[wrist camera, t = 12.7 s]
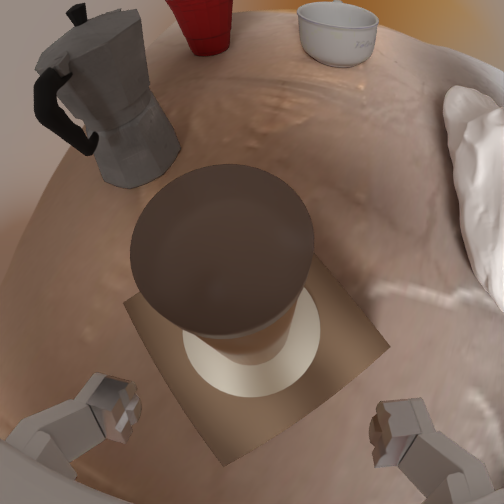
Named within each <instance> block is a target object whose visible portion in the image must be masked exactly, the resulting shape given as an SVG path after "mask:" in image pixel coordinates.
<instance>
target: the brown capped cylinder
mask: <svg viewBox="0 0 504 504" xmlns="http://www.w3.org/2000/svg"><path fill="white" fill-rule="evenodd" d="M313 252H314V232H313V226H312V222H311V218H310V215H309V213H308V211H307V209H306V207H305V205H304V203H303V202H302V200H301V199H300V197H299V196H298V195H297V194H296V193H295V191H294V190H293V189H292V188H291V187H290V186H288V185H287V184H286V183H285V182H283V181H282V180H281V179H279V178H278V177H276V176H274V175H272V174H270V173H268V172H266V171H263V170H261V169H258V168H254V167H250V166H245V165H237V164H222V165H213V166H208V167H203V168H200V169H196V170H194V171H191V172H189V173H186V174H184V175H182V176H180V177H178V178H177V179H175V180H173V181H172V182H170V183H169V184H167V185H166V186H165V187H164V188H162V189H161V190H160V191H159V192H158V193H157V194H156V195H155V196H154V197H153V198H152V199H151V200H150V202H149V203H148V204H147V206H146V207H145V208H144V210H143V212H142V213H141V215H140V217H139V219H138V221H137V223H136V226H135V229H134V232H133V235H132V240H131V246H130V261H131V269H132V273H133V277H134V280H135V282H136V284H137V287H138V289H139V290H140V292H141V294H142V295H143V297H144V298H145V300H146V301H147V302H148V303H149V304H150V305H151V307H152V308H154V309H155V310H156V311H157V312H158V313H159V314H161V315H162V316H163V317H165V318H166V319H167V320H169V321H170V322H172V323H173V324H174V325H176V326H178V327H179V328H181V329H182V330H184V331H187V332H189V333H191V334H194V335H195V336H197V337H198V338H199V339H201V340H202V341H204V342H205V343H206V344H208V345H209V346H211V347H212V348H213V349H215V350H216V351H218V352H219V353H220V354H222V355H223V356H225V357H226V358H228V359H229V360H231V361H233V362H235V363H238V364H241V365H248V366H250V365H259V364H263V363H265V362H267V361H269V360H271V359H273V358H274V357H275V356H276V355H277V354H278V353H279V352H280V351H281V350H282V348H283V347H284V345H285V343H286V341H287V338H288V334H289V330H290V327H291V323H292V319H293V316H294V312H295V308H296V304H297V300H298V297H299V295H300V294H301V292H302V290H303V288H304V285H305V282H306V279H307V276H308V273H309V269H310V266H311V262H312V257H313Z"/></svg>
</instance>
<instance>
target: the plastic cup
mask: <svg viewBox="0 0 504 504" xmlns="http://www.w3.org/2000/svg"><path fill="white" fill-rule="evenodd" d="M165 1H166V2H167V4H168V5H169V7H170V8H171V10H172V11H173V13H174V15H175V17H176V20H177V22H178V24H179V26H180V28H181V30H182V32H183V35H184V36H185V37H186V40H187V42H188V45H189V47H190V49H191V50H192V52H193V53H194V54H195V55H198V56H211V55H216V54H219V53H222V52H224V51H226V50H227V49H228V47H229V44H230V30H231V22H232V4H233V0H165Z"/></svg>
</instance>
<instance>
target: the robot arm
mask: <svg viewBox="0 0 504 504" xmlns="http://www.w3.org/2000/svg"><path fill="white" fill-rule="evenodd" d="M136 391H137V387H136V384H135V382H132V381H129V380H125V379H121V378H117V377H114V376H110V375H106V374H102V373H99V372H96V373H94V374H93V375H92V376H91V378H90V379H89V380H88V382H87V383H86V384H85V385H84V387H83V388H82V389H81V391H80V392H79V393H78V395H77V396H76V397H75V399H74V400H72V399H69V400H67V401H64V402H62V403H60V404H57V405H55V406H53V407H50V408H48V409H46V410H43V411H41V412H39V413H36V414H34V415H31V416H29V417H26V418H24V419H22V420H21V421H20V422H19V423H18V425H17V426H16V427H15V428H14V430H13V431H12V432H11V433H10V435H9V436H8V437H7V439H6V440H5V441H4V440H2V439H1V438H0V504H134V503H131V502H128V501H125V500H122V499H119V498H117V497H114V496H111V495H108V494H106V493H103V492H101V491H98V490H96V489H93V488H91V487H89V486H86V485H84V484H82V483H79V482H77V481H75V478H76V476H77V473H76V471H75V470H74V469H73V467H72V466H71V465H70V462H72V461H73V460H75V459H76V458H78V457H79V456H81V455H82V454H84V453H86V452H87V451H89V450H90V449H92V448H93V447H95V446H96V445H98V444H99V443H101V442H102V441H104V440H105V438H107V439H110V440H113V441H117V442H120V443H124V444H126V443H127V441H128V439H129V437H130V435H131V433H132V432H133V430H132V426H131V425H133V424H135V423H136V422H138V420H139V418H140V415H141V410H142V405H141V400H140V398H139V397H138V396H137V395H136V394H135V392H136ZM376 412H377V414H376V415H375V416H373V417H372V420H371V422H370V427H369V439H370V443H371V444H372V445H373V446H375V448H374V450H373V452H372V456H373V461H374V467H375V468H378V467H389V466H398V468H399V469H400V470H401V471H402V472H403V473H404V474H405V475H406V476H407V477H408V479H409V480H410V481H411V482H412V483H413V484H414V485H415V486H416V487H417V488H418V489H419V490H420V492H421V493H422V494H423V495H424V496H425V497H426V498H427V499H426V500H425V501H424V502H423V503H421V504H504V487H503V488H501V489H499V490H497V491H495V490H494V488H493V485H492V482H491V479H490V477H489V474H488V471H487V469H486V466H485V464H484V463H483V462H482V461H480V460H479V459H477V458H476V457H475V456H473V455H472V454H470V453H469V452H468V451H466V450H465V449H464V448H462V447H461V446H459V445H458V444H457V443H455V442H454V441H452V440H451V439H450V438H448V437H447V436H446V435H444V434H443V433H442V432H440V431H437V432H436V430H435V428H434V425H433V423H432V420H431V418H430V415H429V413H428V410H427V408H426V405H425V403H424V401H423V399H422V398H421V397H420V398H411V399H400V400H389V401H380V402H379V403H378V405H377V407H376Z"/></svg>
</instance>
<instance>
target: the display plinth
mask: <svg viewBox="0 0 504 504" xmlns="http://www.w3.org/2000/svg"><path fill="white" fill-rule="evenodd" d="M123 304H124V306H125V308H126V310H127V312H128V314H129V316H130V318H131V320H132V322H133V324H134V326H135V328H136V330H137V332H138V334H139V336H140V337H141V339H142V341H143V343H144V345H145V347H146V349H147V350H148V352H149V354H150V356H151V358H152V359H153V361H154V363H155V365H156V366H157V368H158V370H159V372H160V373H161V375H162V377H163V378H164V380H165V382H166V383H167V385H168V387H169V388H170V390H171V392H172V393H173V395H174V396H175V398H176V400H177V401H178V403H179V404H180V406H181V407H182V409H183V410H184V412H185V413H186V415H187V417H188V418H189V420H190V421H191V423H192V424H193V425H194V427H195V428H196V430H197V431H198V433H199V434H200V436H201V437H202V438H203V440H204V441H205V443H206V444H207V445H208V447H209V448H210V450H211V451H212V452H213V454H214V455H215V456H216V458H217V459H218V460H219V462H220V463H221V464H222V466H223V467H224V466H226V465H228V464H230V463H232V462H233V461H235V460H237V459H239V458H241V457H242V456H244V455H246V454H247V453H249V452H251V451H252V450H254V449H256V448H257V447H259V446H261V445H262V444H264V443H266V442H267V441H269V440H270V439H272V438H274V437H275V436H277V435H278V434H280V433H281V432H283V431H284V430H286V429H287V428H289V427H290V426H292V425H293V424H295V423H296V422H298V421H299V420H300V419H302V418H303V417H305V416H306V415H308V414H309V413H310V412H312V411H313V410H314V409H316V408H317V407H319V406H320V405H321V404H323V403H324V402H325V401H327V400H328V399H329V398H330V397H332V396H333V395H334V394H336V393H337V392H338V391H339V390H341V389H342V388H343V387H344V386H346V385H347V384H348V383H349V382H351V381H352V380H353V379H354V378H355V377H357V376H358V375H359V374H360V373H361V372H363V371H364V370H365V369H366V368H367V367H368V366H370V365H371V364H372V363H373V362H374V361H375V360H376V359H378V358H379V357H380V356H381V355H382V354H383V353H384V352H385V351H386V350H387V349H389V348H390V345H389V344H388V343H387V341H386V340H385V339H384V338H383V336H382V335H381V334H380V333H379V331H378V330H377V329H376V327H375V326H374V325H373V324H372V322H371V321H370V320H369V319H368V317H367V316H366V315H365V314H364V312H363V311H362V310H361V309H360V308H359V306H358V305H357V304H356V303H355V301H354V300H353V299H352V298H351V296H350V295H349V294H348V293H347V292H346V290H345V289H344V288H343V287H342V286H341V284H340V283H339V282H338V281H337V280H336V278H335V277H334V276H333V275H332V274H331V272H330V271H329V270H328V269H327V268H326V266H325V265H324V264H323V263H322V262H321V261H320V259H319V258H318V257H317V256H316V255H315V254H314V252H313V257H312V262H311V266H310V269H309V273H308V276H307V279H306V282H305V285H304V288H303V290H302V292H301V294H300V295H299V297H298V300H297V304H296V308H295V312H294V316H293V319H292V323H291V327H290V330H289V334H288V338H287V341H286V343H285V345H284V347H283V348H282V350H281V351H280V352H279V353H278V354H277V355H276V356H275V357H274V358H273V359H271V360H269V361H267V362H265V363H263V364H259V365H250V366H248V365H241V364H238V363H235V362H233V361H231V360H229V359H228V358H226V357H225V356H223V355H222V354H220V353H219V352H218V351H216V350H215V349H213V348H212V347H211V346H209V345H208V344H206V343H205V342H204V341H202V340H201V339H199V338H198V337H197V336H195V335H194V334H191V333H189V332H187V331H184V330H182V329H181V328H179V327H178V326H176V325H174V324H173V323H172V322H170V321H169V320H167V319H166V318H165V317H163V316H162V315H161V314H159V313H158V312H157V311H156V310H155V309H154V308H152V307H151V305H150V304H149V303H148V302H147V301H146V300H145V298H144V297H143V295H142V294H141V292H139V293H137V294H136V295H134V296H133V297H131V298H130V299H128V300H127V301H125V302H124V303H123Z"/></svg>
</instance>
